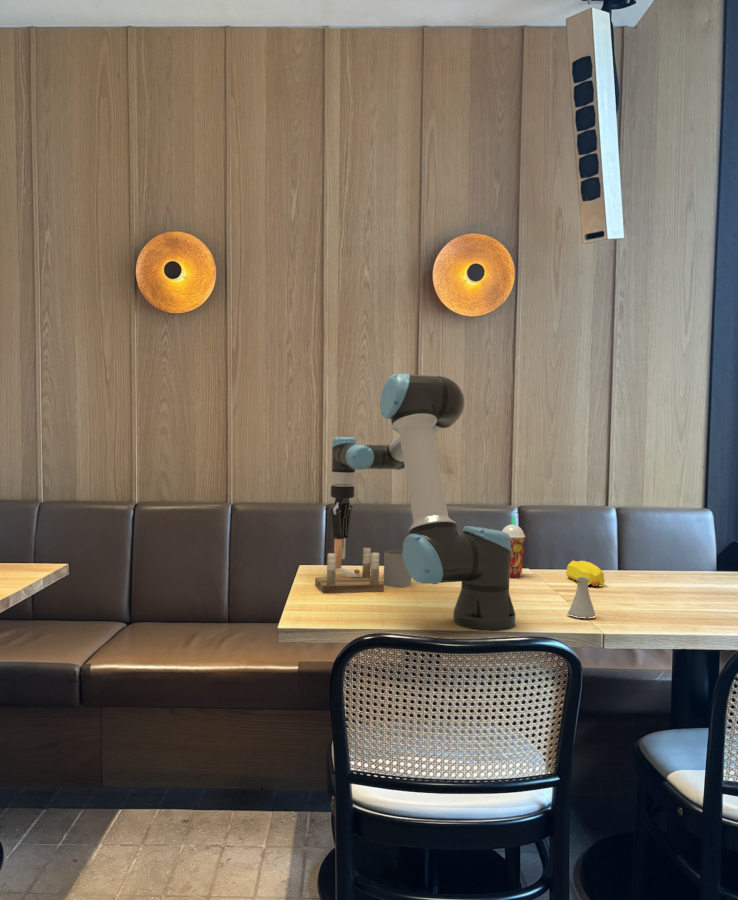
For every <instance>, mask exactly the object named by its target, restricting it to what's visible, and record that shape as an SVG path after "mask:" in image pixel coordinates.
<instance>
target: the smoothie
mask: <svg viewBox="0 0 738 900" xmlns="http://www.w3.org/2000/svg"><path fill="white" fill-rule="evenodd" d="M501 531H502V532H505V533H507V534H508V535H509V536H510V544H511V552H510V577H518V578H520V577H519V576H521V575H522V572H523V563H524V562H523V561H524V555H525V554H524V552H525V551H524V550H525V544H526V543H525V542H526V541H525V540H526V535H525V533H524V531H523V529H522V528H521V527H520V526H519V525H517V524H515V516H514V515H513V516H511V524H507V525H505V526H504V527H503V529H502V530H501Z"/></svg>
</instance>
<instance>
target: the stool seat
mask: <svg viewBox="0 0 738 900" xmlns="http://www.w3.org/2000/svg"><path fill="white" fill-rule="evenodd" d="M326 563H327V565H326V576H319V577H315V579H314V585H315V586H316V587H317V588H318V589H319V591H320V590H321V591H322V592H323V593H322V592H321V591H320V592H321V593H322V594H346V593H349V594H351V593H353V594H354V593H376V592H377V593H378V592H379V593H380V592H381V593H382V592H384V591H385V585H384V583H382V582H381V581H380V578H379V577H380V576H379V575H380V570H379V569H380V552H375V551H373V552H372V548H371V547H363V548H362V572H361V571H360V569H354V570H353V571H354V572H355V573H362V576H361V577H353V576H343V577H341V576H339V577H337V576H336V571H335V570H336V554H335V553H334V552H328V553H327V560H326Z"/></svg>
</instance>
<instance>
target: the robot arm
mask: <svg viewBox="0 0 738 900" xmlns="http://www.w3.org/2000/svg"><path fill="white" fill-rule="evenodd" d="M379 408H380V414H381V416H382V417H383V418H385V419H387V420H390V422H391V427H392V429H393V430H394V431H395V432H396V433H398V435H397V436H396V437H395V438H394V439H393V440H392V441H391V442H390V443H389V444H388V445H387V444H359V443H358V444H357V440H356V438H355V437H351V436H350V437H349V436H335V437H333V439H332V446H331V474H330V477H331V480H330V481H331V484H332V485H331V486H330V497H331V498H334V499H335V500H334V505H333V507H332V508H331V509H330V514H331V521H332V534H333V536H332V537H333V538H332V539H342V560H345V559H346V541H347V540H346V539H348V538H349V537H350V536H349V535H350V534H349V532H350V526H351V525H350V524H351V516H352V512H353V511H352V510H353V505H352V504H350V503H351V501H350V499H353V498H354V497H355V486H354V485H355V481H356V471H359V470H361V471H363V470H396V471H401V470H404V473H405V478H406V483H407V484H406V485H407V489H408V490H407V491H408V495H409V496H408V497H409V503H410V507H411V514H412V522H413V523H412V525H411V526H410V527H409V529H408V535H407V536H406V537H405V538H404V540H403V542H402V549H401V550H402V553H403V560H404V564H405V567H406V569H407V571H408V573H409V575H410V576H411V579H413V580H414V581H415V582H417V583H420V584H431V585H438V584H441V583H443V584H444V583H459V582H460V583H461V587H460V588H461V589H460V592H459V595H458V598H457V600H456V603H455V605H454V607H453V608H454V609H453V617H452V620H453V622H454V623H456V624H457V625H460V626H463V627H466V628H472V629H476V630H488V631H489V630H491V631H494V630H495V631H496V630H497V631H498V630H506V629H507V630H508V629H511V628H513V627H515V626H516V612H515V609H514V605H513V602H512V601H513V600H512V598H511V594H510V552H511V544H510V536H509V535H508V534H507V533H505V532H502V530H497V529H492V528H486V527H478V526H471V525H465V526H464V527H463V529H462V530H461V531H462V532H459V531H458V528H457V522H456V521H454V520H453V519H451V518H450V517H449V512H448V507H447V501H446V496H445V495H446V494H445V489H444V483H443V479H442V473H441V468H440V462H439V456H438V452H437V450H438V449H437V446H436V439H435V436H436V435H437V434H438V433H439V432H440V431H442V430H443V429H447V428H450V427H451V426H453V425H454V424H455V423H456V422H457V421H458V420H459V419H460V417H461V416H462V414H463V412H464V408H465V397H464V393H463V390H462V389H461V388H460V386H459V384H457V383H456V382H455V381H454V380H452V379H450V378H449V377H445V376H441V375H438V376H435V375H425V374H410V373H408V372H407V373H393V374H391V375H390V376H389V377H388V378H387V379H386V381H385V383H384V384H383V387H382V390H381V395H380V401H379Z"/></svg>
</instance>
